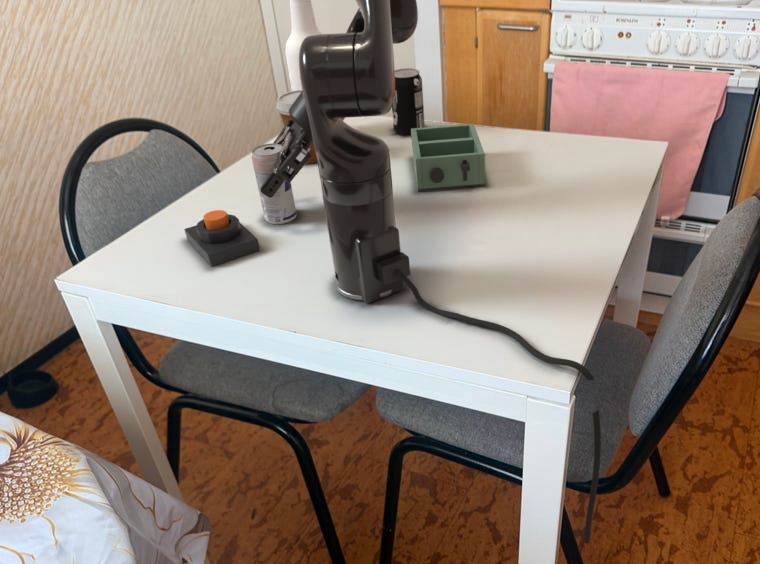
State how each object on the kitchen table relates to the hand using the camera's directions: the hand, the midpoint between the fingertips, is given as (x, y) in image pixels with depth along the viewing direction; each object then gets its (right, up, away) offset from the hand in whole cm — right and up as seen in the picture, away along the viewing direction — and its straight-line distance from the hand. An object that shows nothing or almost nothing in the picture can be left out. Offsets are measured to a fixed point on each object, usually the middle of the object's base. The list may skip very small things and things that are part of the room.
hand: (264, 185), depth 114 cm
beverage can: (+23, +20, +34) cm, 45 cm away
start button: (-6, -7, -5) cm, 11 cm away
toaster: (+30, +6, +16) cm, 35 cm away
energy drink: (+2, -5, +4) cm, 7 cm away
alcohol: (+4, +19, +34) cm, 39 cm away
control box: (-6, -10, -3) cm, 12 cm away
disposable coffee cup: (+3, +12, +25) cm, 28 cm away
